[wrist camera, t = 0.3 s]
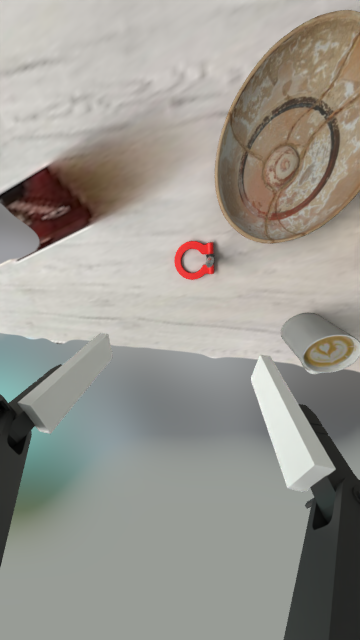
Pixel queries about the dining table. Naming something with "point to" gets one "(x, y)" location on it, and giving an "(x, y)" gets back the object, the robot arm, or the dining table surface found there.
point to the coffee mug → (320, 343)
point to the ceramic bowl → (294, 133)
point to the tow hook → (204, 250)
